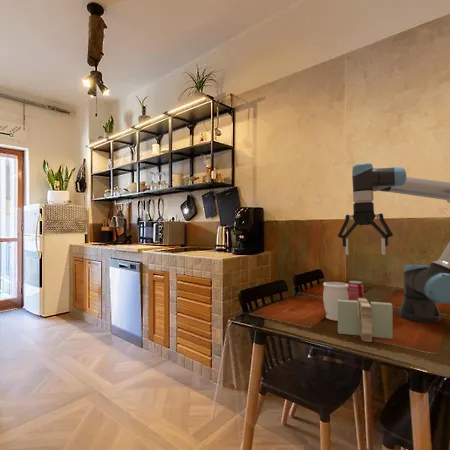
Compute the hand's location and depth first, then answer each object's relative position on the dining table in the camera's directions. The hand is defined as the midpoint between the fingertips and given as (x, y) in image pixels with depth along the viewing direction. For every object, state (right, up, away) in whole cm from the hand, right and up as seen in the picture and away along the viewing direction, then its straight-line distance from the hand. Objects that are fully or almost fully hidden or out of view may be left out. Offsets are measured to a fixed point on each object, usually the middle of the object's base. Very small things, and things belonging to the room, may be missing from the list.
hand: (365, 254), depth 122 cm
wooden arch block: (-5, -28, -11) cm, 31 cm away
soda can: (+7, -29, +24) cm, 38 cm away
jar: (-9, -29, +9) cm, 31 cm away
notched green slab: (-5, -28, -11) cm, 31 cm away
